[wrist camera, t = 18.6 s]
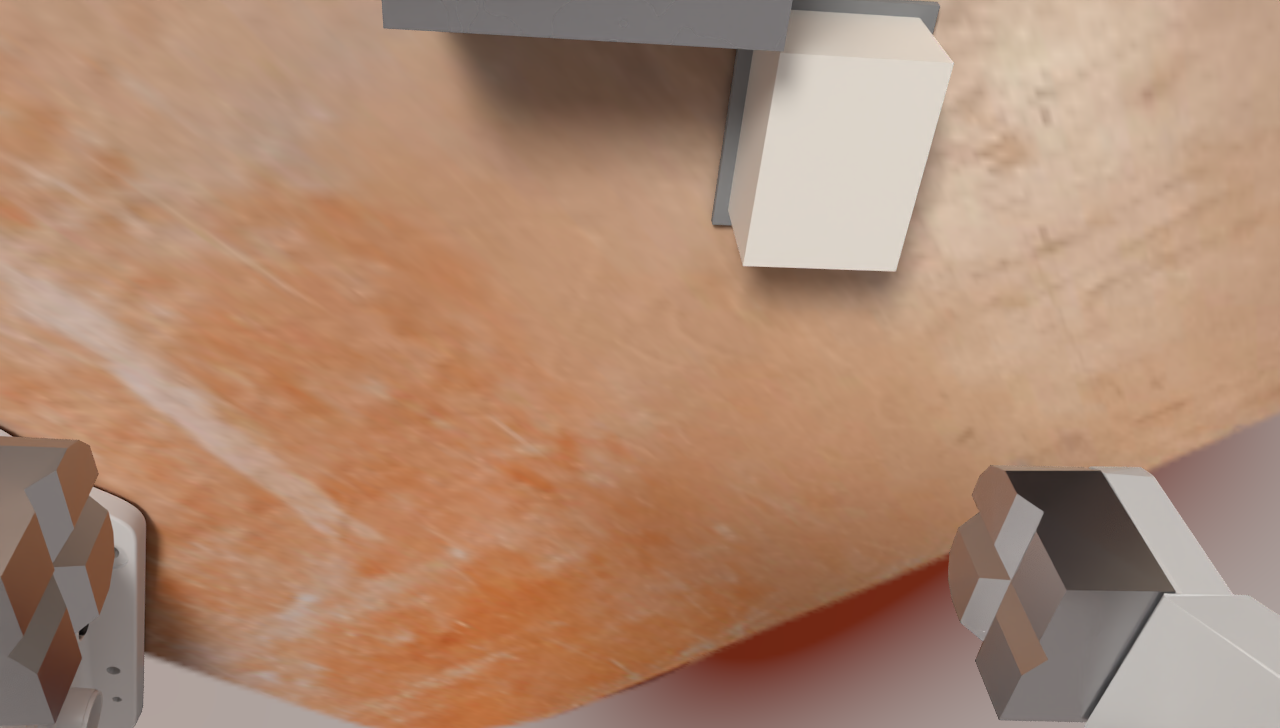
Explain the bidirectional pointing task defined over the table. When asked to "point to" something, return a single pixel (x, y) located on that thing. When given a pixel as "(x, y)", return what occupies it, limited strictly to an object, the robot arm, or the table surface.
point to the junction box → (605, 20)
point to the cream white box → (836, 141)
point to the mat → (873, 3)
